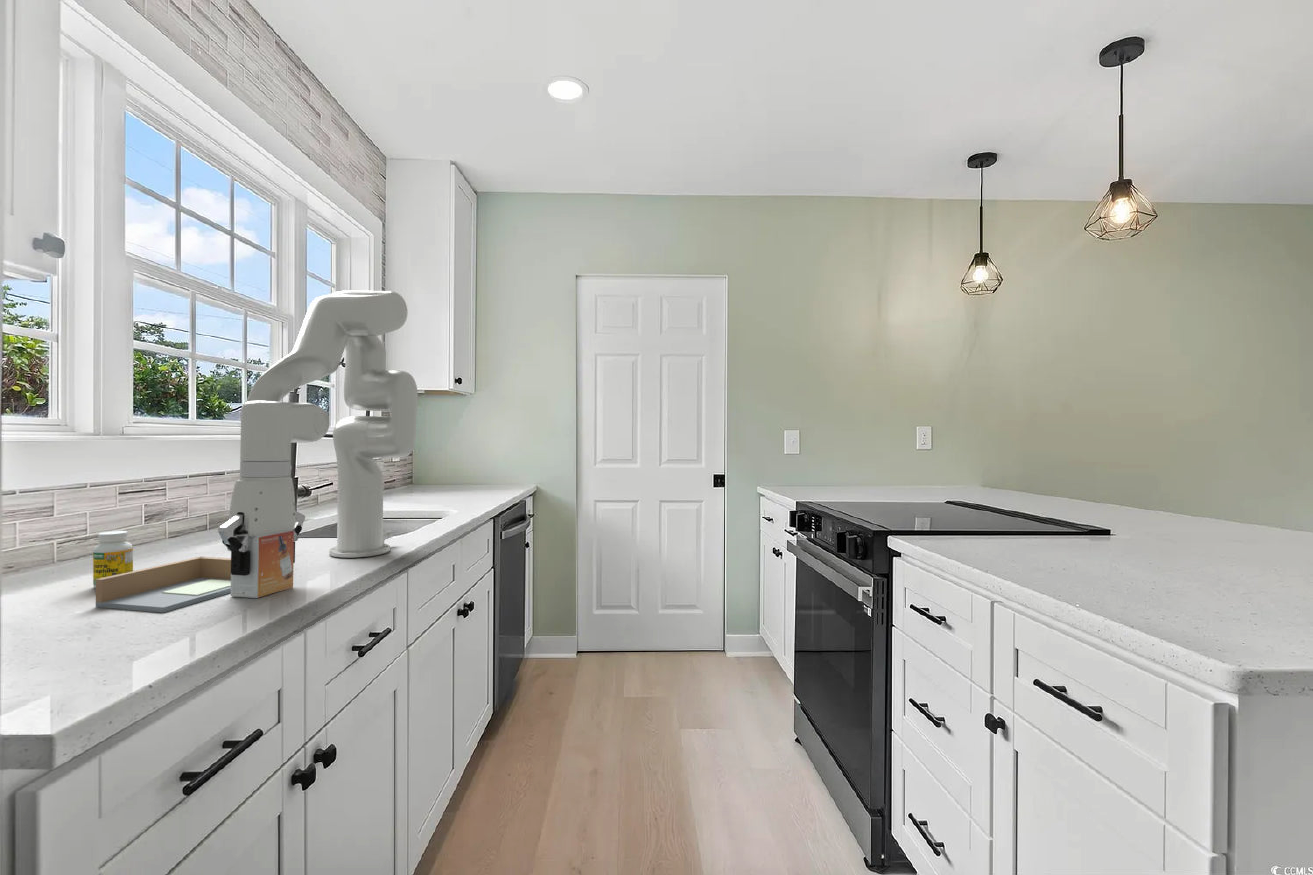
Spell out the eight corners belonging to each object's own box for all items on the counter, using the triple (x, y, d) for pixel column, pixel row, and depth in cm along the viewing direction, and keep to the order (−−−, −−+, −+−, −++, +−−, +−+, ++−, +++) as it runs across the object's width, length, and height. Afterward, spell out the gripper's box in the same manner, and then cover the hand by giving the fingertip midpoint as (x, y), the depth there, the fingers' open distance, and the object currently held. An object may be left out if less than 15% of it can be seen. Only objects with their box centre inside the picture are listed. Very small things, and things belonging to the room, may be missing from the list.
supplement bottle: (139, 581, 112) (139, 529, 112) (121, 588, 107) (121, 534, 107) (105, 582, 111) (105, 530, 111) (85, 590, 106) (85, 535, 106)
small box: (257, 599, 102) (257, 537, 102) (229, 597, 103) (229, 535, 103) (294, 587, 110) (295, 529, 109) (268, 585, 111) (268, 528, 111)
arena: (200, 579, 114) (200, 556, 114) (259, 583, 111) (260, 560, 111) (95, 606, 96) (95, 579, 96) (163, 612, 94) (163, 584, 94)
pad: (210, 580, 110) (210, 579, 110) (243, 582, 109) (243, 581, 109) (162, 593, 102) (162, 591, 102) (197, 595, 100) (197, 594, 100)
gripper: (286, 468, 115) (284, 558, 115) (202, 473, 98) (200, 578, 98) (320, 469, 114) (319, 560, 114) (241, 474, 97) (239, 581, 97)
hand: (264, 568), depth 106 cm, fingers open, 9 cm apart
